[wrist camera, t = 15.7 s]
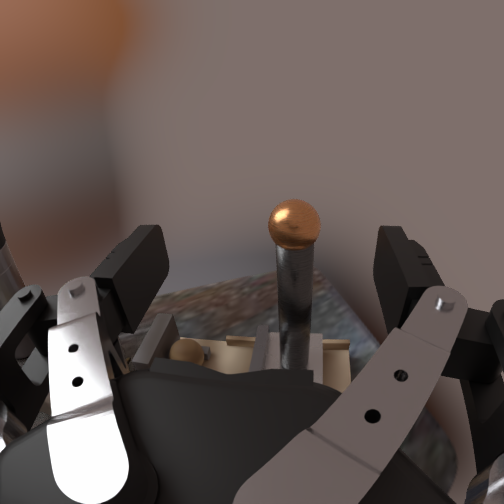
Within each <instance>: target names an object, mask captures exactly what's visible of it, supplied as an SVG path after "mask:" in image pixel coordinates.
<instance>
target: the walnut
mask: <svg viewBox="0 0 504 504" xmlns="http://www.w3.org/2000/svg"><path fill="white" fill-rule="evenodd" d="M169 357H170V359H172V360H179V361H187V362H192V363H195V364H198V365H202V363H203V361H204V351H203V349H202V347H201V345H200V344H199V343H198V342H196V341H195V340H192V339H188V338H185V339H180V340H178V341H176V342H175V343H174V344H173V345H172V347H171V349H170V353H169Z"/></svg>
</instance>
